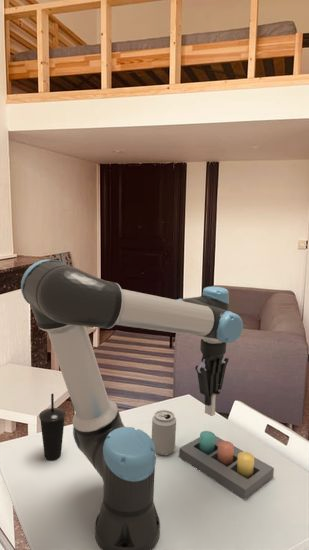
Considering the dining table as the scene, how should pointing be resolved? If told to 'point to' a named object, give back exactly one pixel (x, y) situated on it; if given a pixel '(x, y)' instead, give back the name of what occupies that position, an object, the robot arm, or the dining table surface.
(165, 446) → the can
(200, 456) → the tray
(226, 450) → the coral button
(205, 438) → the teal cylinder
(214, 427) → the dining table surface
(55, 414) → the drinking cup
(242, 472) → the yellow plastic cylinder
